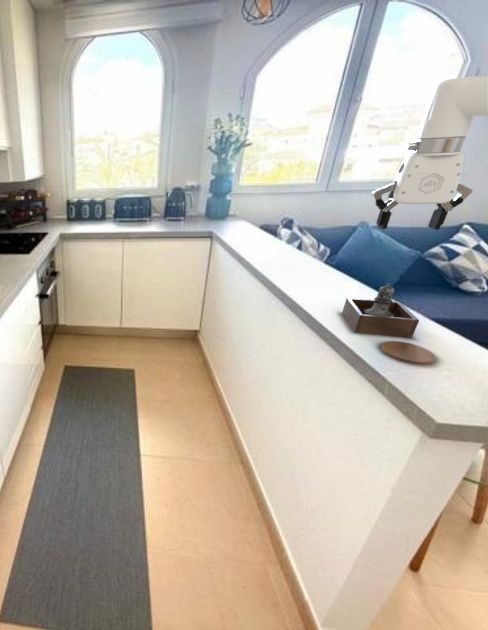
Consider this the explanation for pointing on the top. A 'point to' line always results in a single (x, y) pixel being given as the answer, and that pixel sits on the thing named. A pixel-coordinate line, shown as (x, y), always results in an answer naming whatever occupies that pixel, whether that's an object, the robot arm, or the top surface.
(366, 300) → the crate
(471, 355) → the top surface
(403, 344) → the coaster
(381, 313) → the stone chess piece
